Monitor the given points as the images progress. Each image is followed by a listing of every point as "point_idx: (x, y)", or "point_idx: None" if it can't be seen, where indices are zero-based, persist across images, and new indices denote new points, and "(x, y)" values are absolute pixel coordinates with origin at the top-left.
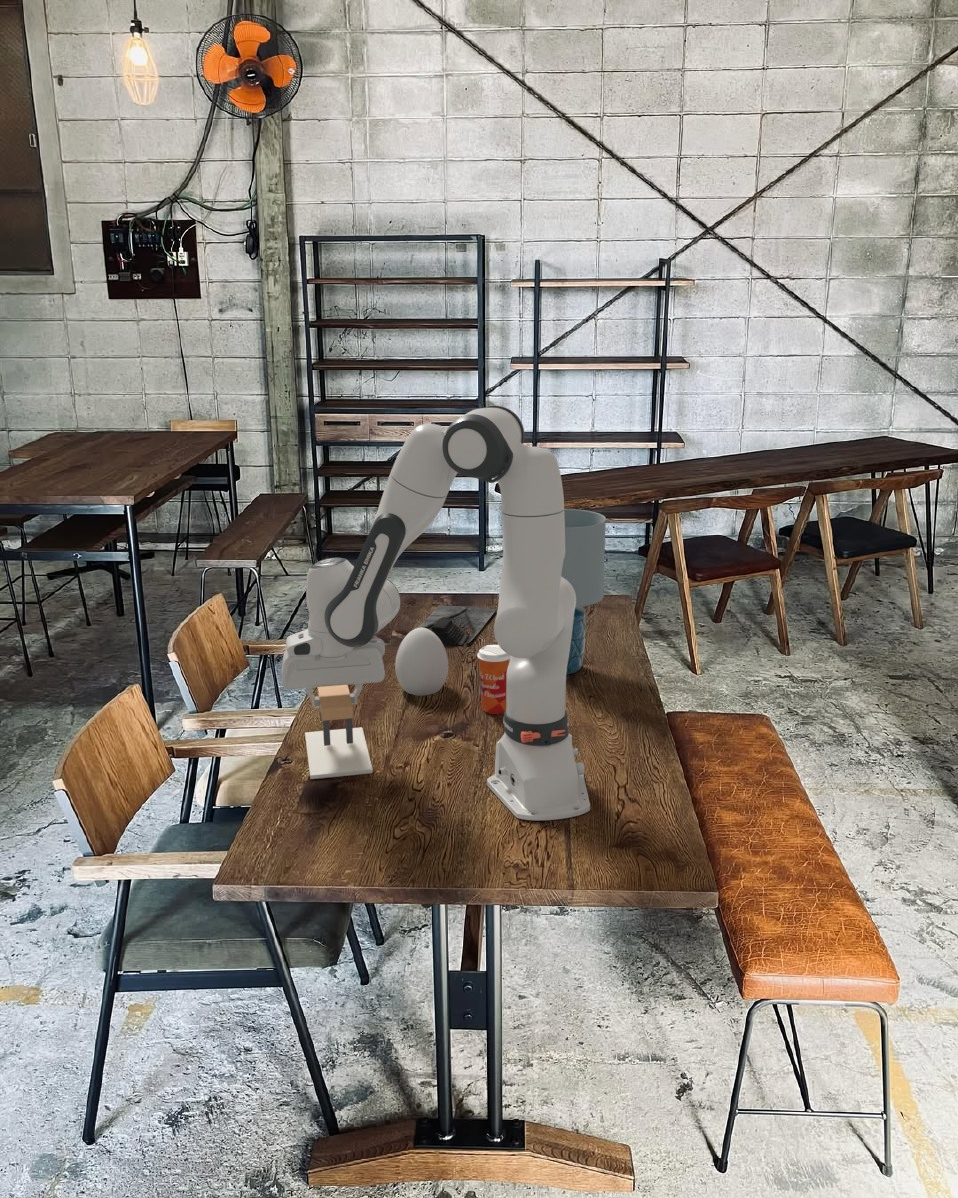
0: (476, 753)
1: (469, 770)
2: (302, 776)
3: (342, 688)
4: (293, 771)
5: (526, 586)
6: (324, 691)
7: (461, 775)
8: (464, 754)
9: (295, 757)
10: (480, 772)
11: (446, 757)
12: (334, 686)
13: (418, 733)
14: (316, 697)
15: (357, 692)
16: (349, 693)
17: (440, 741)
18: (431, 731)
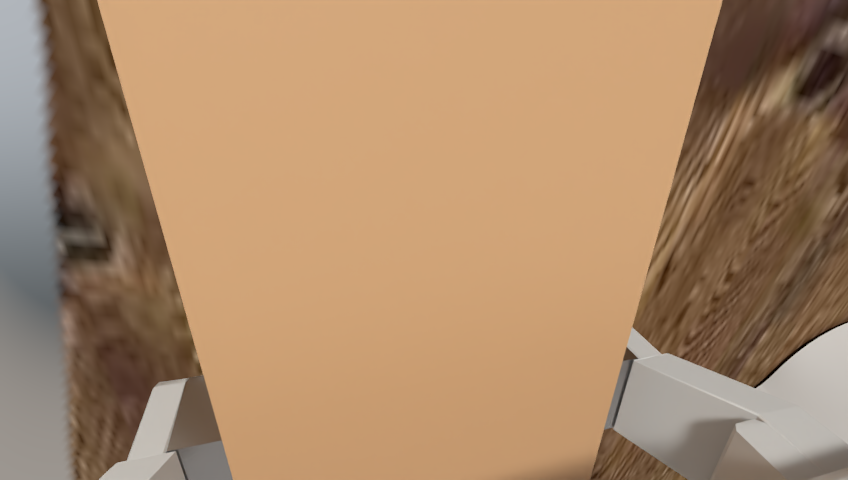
0: (806, 242)
1: (732, 340)
2: (199, 372)
3: (565, 326)
4: (145, 334)
5: None
6: (314, 419)
7: (700, 365)
8: (775, 245)
9: (118, 198)
10: (748, 350)
11: (721, 260)
12: (474, 255)
13: (739, 23)
14: (206, 474)
15: (673, 462)
16: (597, 446)
17: (769, 130)
18: (793, 14)
